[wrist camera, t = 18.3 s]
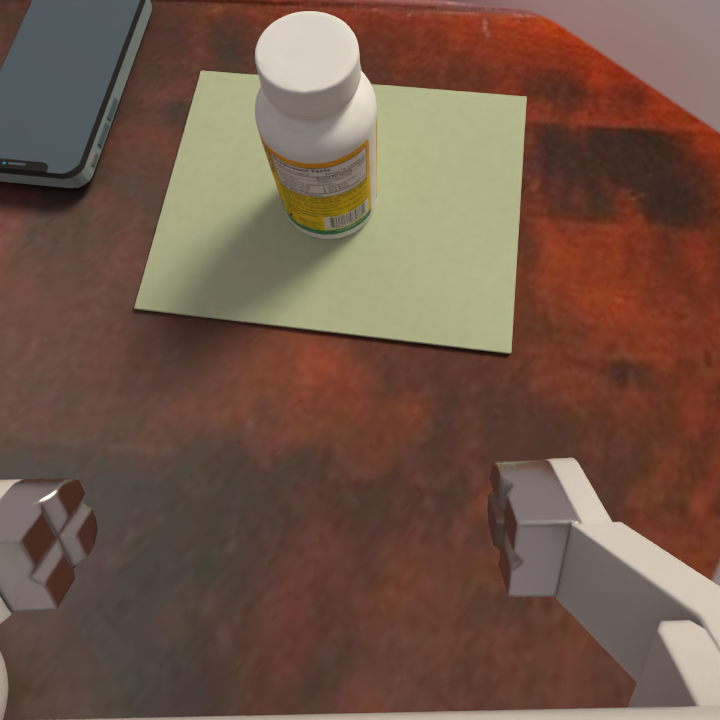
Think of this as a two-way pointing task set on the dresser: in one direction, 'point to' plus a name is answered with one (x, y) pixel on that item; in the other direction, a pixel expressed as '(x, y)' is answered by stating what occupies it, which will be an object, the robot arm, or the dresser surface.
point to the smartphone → (65, 87)
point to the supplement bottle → (318, 123)
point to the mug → (3, 687)
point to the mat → (365, 246)
